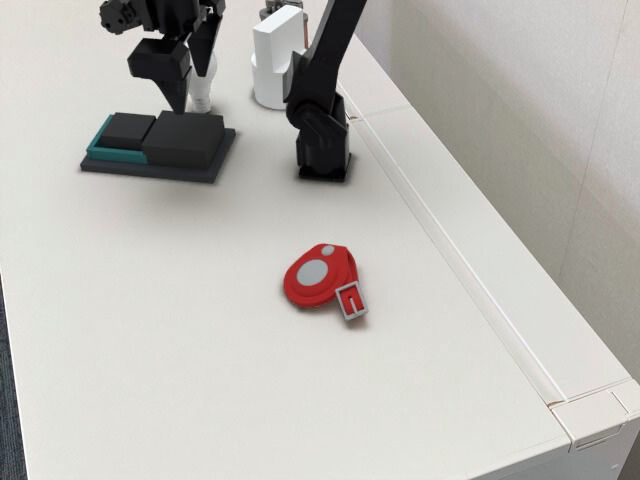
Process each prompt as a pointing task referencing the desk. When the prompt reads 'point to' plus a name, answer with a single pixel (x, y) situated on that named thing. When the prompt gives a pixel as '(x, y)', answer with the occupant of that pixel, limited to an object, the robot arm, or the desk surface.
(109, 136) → the black block
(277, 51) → the base with upright slab
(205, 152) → the black teal stepped tray
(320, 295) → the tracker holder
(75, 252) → the desk surface
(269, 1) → the lighter
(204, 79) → the lightbulb
